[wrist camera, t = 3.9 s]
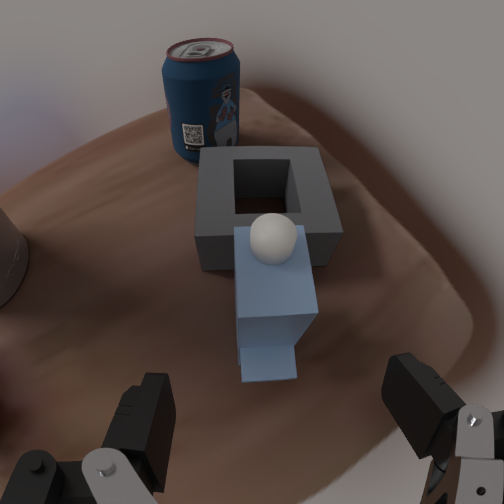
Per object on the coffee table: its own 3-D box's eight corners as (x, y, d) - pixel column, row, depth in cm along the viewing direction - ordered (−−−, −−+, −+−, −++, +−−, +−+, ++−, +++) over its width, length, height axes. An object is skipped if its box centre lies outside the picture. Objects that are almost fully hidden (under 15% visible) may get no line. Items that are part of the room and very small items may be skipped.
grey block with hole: (201, 270, 23) (194, 236, 19) (204, 186, 28) (200, 147, 24) (326, 265, 24) (343, 232, 20) (308, 184, 29) (317, 147, 25)
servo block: (283, 387, 19) (333, 353, 9) (239, 390, 19) (240, 361, 9) (274, 288, 23) (300, 179, 13) (234, 289, 23) (232, 179, 13)
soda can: (187, 127, 33) (177, 36, 23) (244, 133, 33) (248, 37, 22) (165, 166, 29) (145, 62, 19) (230, 174, 29) (229, 62, 19)
